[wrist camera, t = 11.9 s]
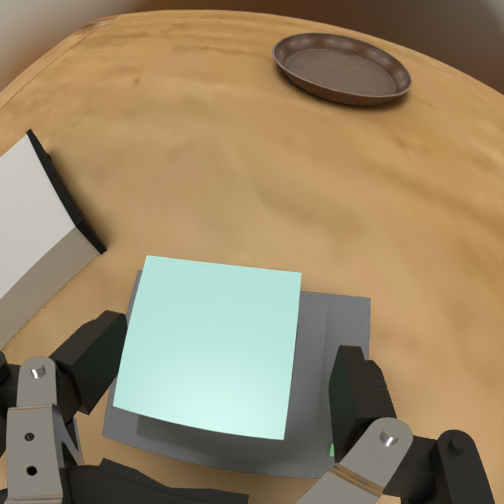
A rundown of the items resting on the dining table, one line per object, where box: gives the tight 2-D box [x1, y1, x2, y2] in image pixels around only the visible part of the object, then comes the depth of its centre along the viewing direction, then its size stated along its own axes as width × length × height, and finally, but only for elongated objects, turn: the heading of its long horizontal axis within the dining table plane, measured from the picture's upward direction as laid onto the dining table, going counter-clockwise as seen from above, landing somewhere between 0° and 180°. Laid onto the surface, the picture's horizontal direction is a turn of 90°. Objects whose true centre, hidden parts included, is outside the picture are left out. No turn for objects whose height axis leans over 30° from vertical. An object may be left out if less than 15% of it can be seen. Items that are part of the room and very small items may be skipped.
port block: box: [102, 270, 370, 478], centre depth 17 cm, size 16×12×4 cm
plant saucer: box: [272, 33, 412, 105], centre depth 32 cm, size 18×18×3 cm
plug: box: [113, 255, 301, 440], centre depth 12 cm, size 4×4×12 cm
